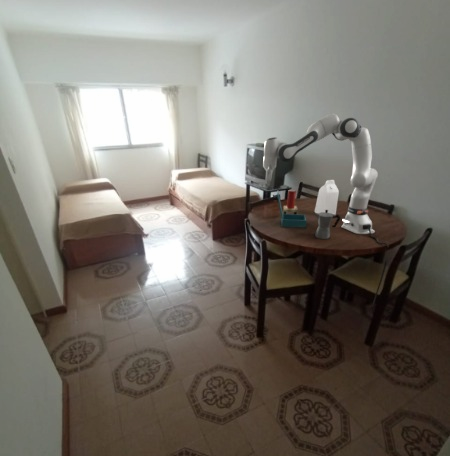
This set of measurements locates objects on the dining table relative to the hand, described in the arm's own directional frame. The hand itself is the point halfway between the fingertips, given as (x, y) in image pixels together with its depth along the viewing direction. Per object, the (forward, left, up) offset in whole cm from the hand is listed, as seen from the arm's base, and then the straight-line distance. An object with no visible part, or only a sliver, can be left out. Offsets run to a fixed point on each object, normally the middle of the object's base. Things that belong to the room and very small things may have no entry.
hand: (268, 185), depth 190 cm
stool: (+8, -22, -28) cm, 36 cm away
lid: (-4, -9, -13) cm, 16 cm away
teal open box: (-7, -18, -28) cm, 34 cm away
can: (+8, -22, -20) cm, 31 cm away
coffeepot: (-33, -28, -28) cm, 52 cm away
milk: (+11, -54, -28) cm, 62 cm away
